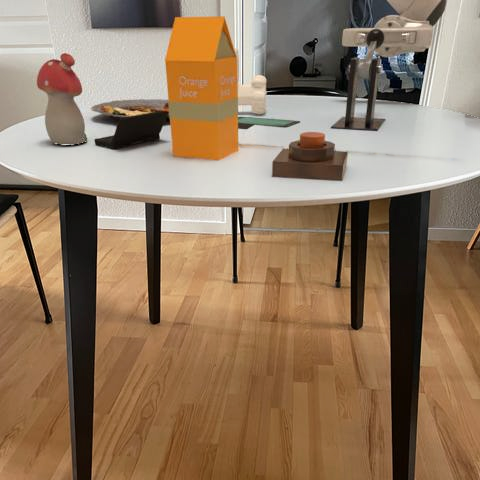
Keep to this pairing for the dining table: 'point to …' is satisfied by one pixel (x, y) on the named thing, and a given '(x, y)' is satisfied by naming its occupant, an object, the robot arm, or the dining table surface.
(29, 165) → the dining table surface
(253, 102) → the dog bone
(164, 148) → the dining table surface
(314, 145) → the button
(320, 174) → the button block
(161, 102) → the food plate
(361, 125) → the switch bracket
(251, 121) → the smartphone
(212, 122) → the orange juice
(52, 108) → the decorative ornament
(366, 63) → the switch lever
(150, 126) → the black angled stand
